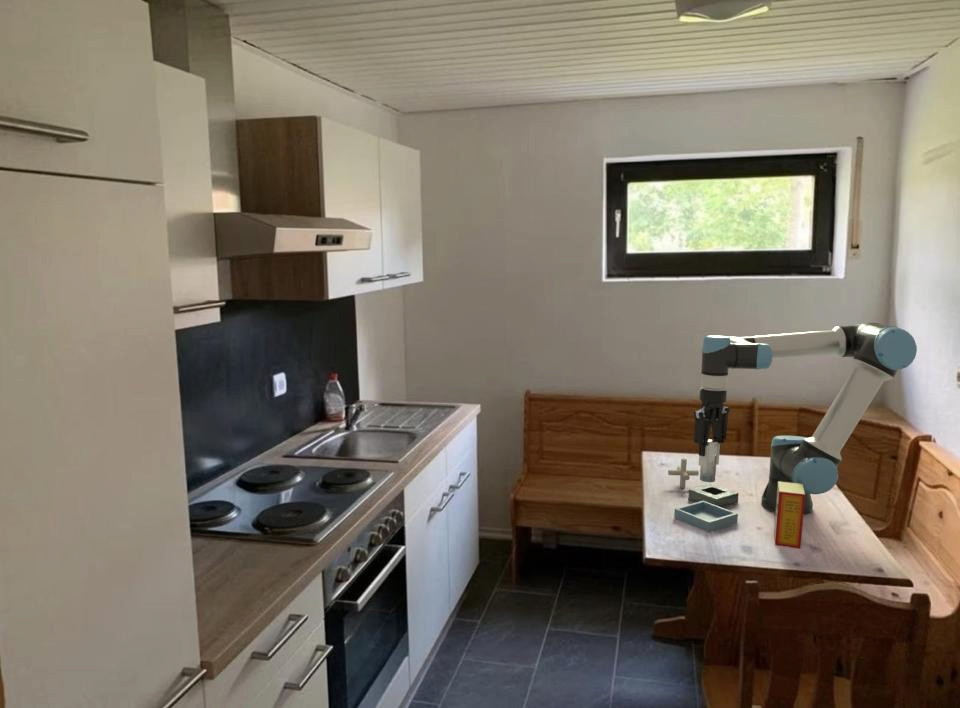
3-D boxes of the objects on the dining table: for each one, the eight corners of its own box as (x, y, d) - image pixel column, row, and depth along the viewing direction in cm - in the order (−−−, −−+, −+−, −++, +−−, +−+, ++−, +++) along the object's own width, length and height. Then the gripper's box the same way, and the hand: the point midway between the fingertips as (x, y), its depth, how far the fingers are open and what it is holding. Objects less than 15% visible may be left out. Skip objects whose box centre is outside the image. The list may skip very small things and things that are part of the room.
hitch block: (737, 503, 235) (738, 492, 234) (715, 509, 229) (716, 499, 228) (710, 493, 244) (710, 483, 243) (688, 499, 238) (688, 489, 237)
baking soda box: (773, 532, 211) (778, 479, 208) (798, 535, 209) (802, 482, 206) (775, 545, 202) (779, 490, 200) (800, 548, 200) (805, 493, 197)
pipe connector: (701, 492, 245) (702, 463, 243) (671, 491, 245) (673, 463, 243) (693, 482, 255) (694, 454, 253) (664, 481, 255) (666, 454, 253)
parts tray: (737, 523, 217) (738, 513, 217) (708, 532, 210) (709, 522, 210) (702, 510, 228) (702, 500, 227) (674, 518, 221) (674, 508, 220)
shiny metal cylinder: (718, 480, 217) (720, 441, 215) (708, 483, 214) (711, 444, 212) (706, 476, 220) (708, 438, 218) (696, 479, 218) (699, 440, 216)
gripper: (722, 383, 221) (717, 457, 224) (683, 388, 211) (679, 466, 215) (743, 387, 214) (737, 463, 218) (704, 393, 205) (699, 472, 208)
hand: (708, 464), depth 216 cm, fingers closed on shiny metal cylinder, 4 cm apart
